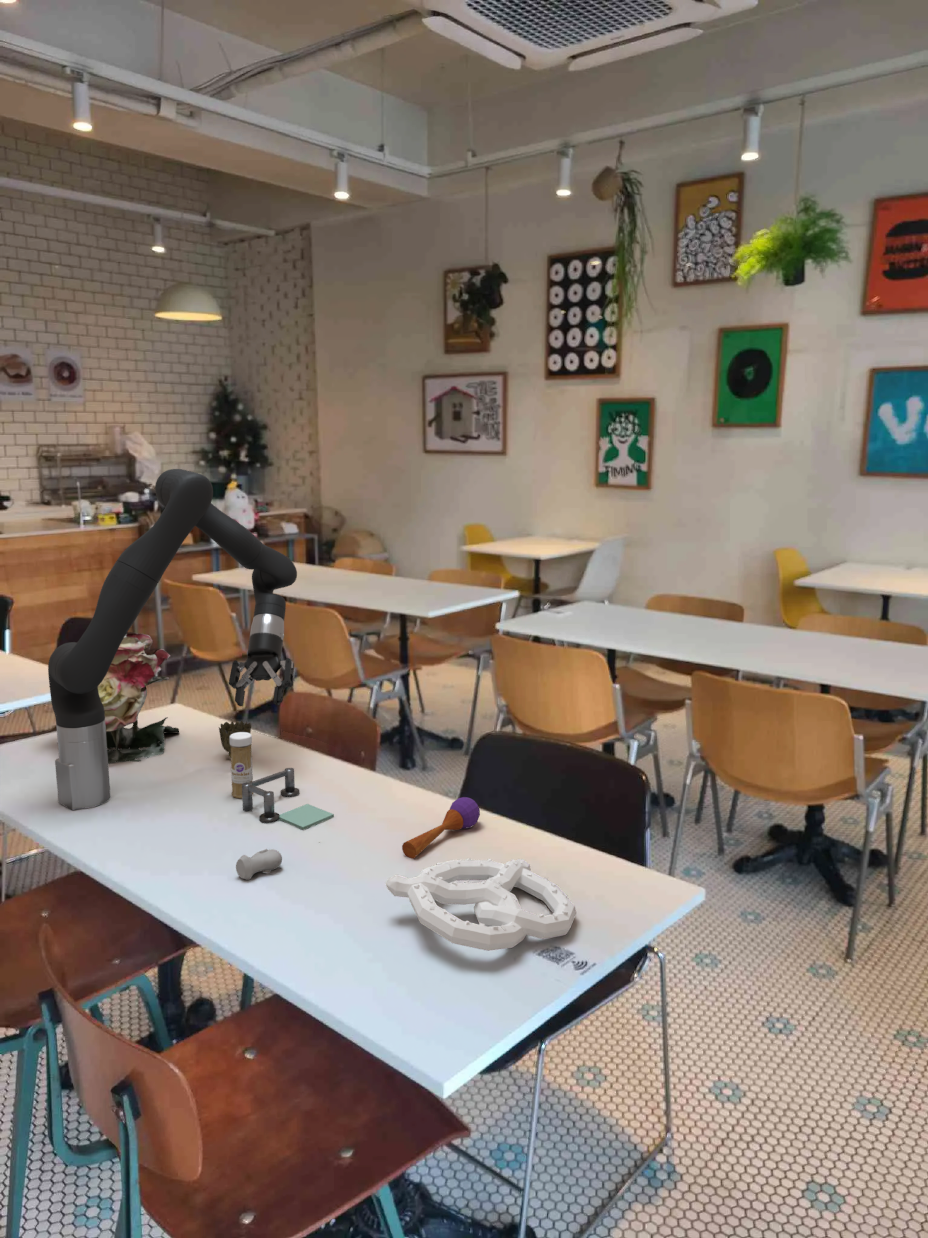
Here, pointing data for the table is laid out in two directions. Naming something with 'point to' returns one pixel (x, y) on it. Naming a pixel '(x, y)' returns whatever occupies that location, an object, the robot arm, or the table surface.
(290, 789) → the grey jointed rod frame
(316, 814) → the pad
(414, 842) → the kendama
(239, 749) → the sprinkles bottle
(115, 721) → the rose bouquet
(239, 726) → the dark brown scalloped piece
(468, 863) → the pretzel
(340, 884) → the table surface
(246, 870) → the grey figurine
